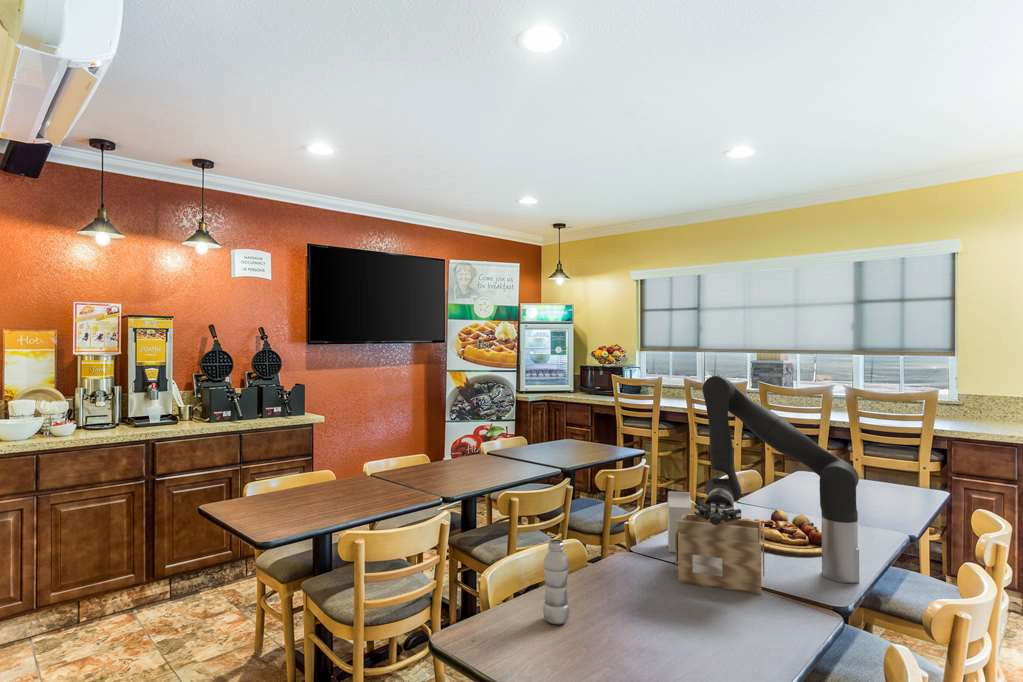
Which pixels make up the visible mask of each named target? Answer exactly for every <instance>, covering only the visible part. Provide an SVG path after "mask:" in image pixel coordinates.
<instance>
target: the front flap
mask: <svg viewBox="0 0 1023 682" xmlns="http://www.w3.org/2000/svg"><path fill="white" fill-rule="evenodd" d="M676 522H677V526H678V529H679V532H680V534H686V535H694V536H703V537H711V538H720V539H728V540H737V541H745V542H753V543H758V528H751V527H742V526H732V525H723V524H718V525H712V523H705V522H696V521H687V520H678V519H676Z"/></svg>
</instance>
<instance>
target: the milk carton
mask: <svg viewBox="0 0 1023 682" xmlns="http://www.w3.org/2000/svg"><path fill="white" fill-rule="evenodd" d="M691 498H692V497H691V492H688V491H687V492H686V491H684V492H683V491H668V492H667V546H668V552H670V553H675V533H676V531H677V528H678V526H677V522H676V519H678V520H681V519H682V517H683V515H686V514H692V499H691Z"/></svg>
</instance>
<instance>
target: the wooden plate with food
mask: <svg viewBox="0 0 1023 682" xmlns="http://www.w3.org/2000/svg"><path fill="white" fill-rule="evenodd" d="M742 519H743V520H751V519H749V518H747V517H746V518H745V517H743V518H742ZM753 521H759V522H761V551H763V523H764V552H767V553H772V554H776V555H782V556H788V557H796V558H797V557H798V558H799V557H800V558H814V557H815V558H816V557H822V529H819V528H818V527H817V526H815V524H814V523H813V522H811V521H810V519H809V518H808V517H806V515H805V516H804V515H803V514H800V515H797V516H795V517H793V519H792V521H791V522H790V521H789V519H788V516H787V513H785V511H783V510H781V509H779V508H778V509H775V510H774V511H772V513H771V515H770V519H761V518H757V519H754V520H753Z"/></svg>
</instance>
